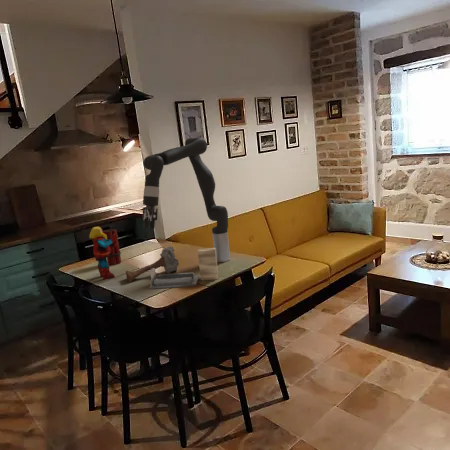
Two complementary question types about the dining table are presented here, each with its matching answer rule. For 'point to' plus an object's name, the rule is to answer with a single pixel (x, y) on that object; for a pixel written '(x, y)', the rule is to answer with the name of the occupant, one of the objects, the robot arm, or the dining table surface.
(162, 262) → the hammer
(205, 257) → the wooden block
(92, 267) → the dining table surface
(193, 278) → the rail
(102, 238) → the toy
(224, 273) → the dining table surface
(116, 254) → the dynamite
